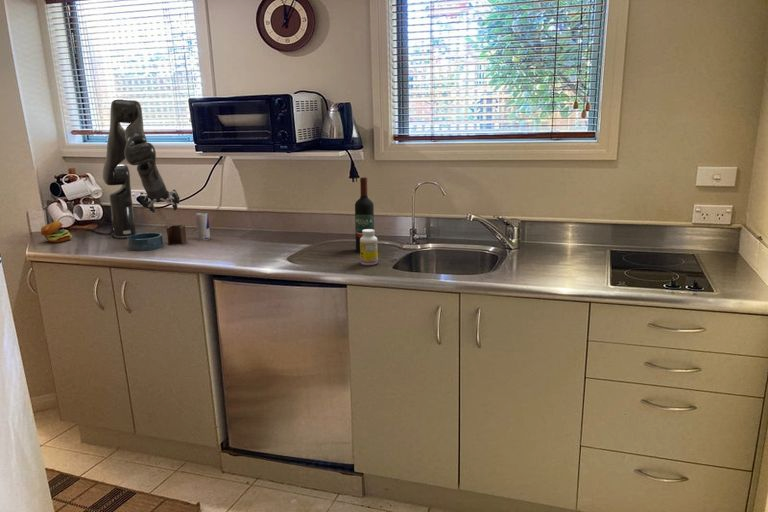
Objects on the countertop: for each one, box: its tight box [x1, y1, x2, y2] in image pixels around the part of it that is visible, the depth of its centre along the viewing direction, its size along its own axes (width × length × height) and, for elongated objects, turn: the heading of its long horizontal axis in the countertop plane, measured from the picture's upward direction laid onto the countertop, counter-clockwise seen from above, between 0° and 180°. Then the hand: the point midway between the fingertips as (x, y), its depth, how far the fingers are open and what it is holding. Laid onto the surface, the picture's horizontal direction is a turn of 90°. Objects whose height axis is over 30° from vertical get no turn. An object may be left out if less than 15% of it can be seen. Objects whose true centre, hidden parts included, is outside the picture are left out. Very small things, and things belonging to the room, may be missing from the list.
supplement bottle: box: [359, 229, 379, 266], centre depth 214 cm, size 7×7×13 cm
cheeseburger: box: [40, 220, 72, 244], centre depth 257 cm, size 10×11×10 cm
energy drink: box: [195, 212, 211, 241], centre depth 256 cm, size 5×5×12 cm
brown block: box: [166, 224, 188, 246], centre depth 249 cm, size 6×6×8 cm
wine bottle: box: [354, 176, 375, 253], centre depth 232 cm, size 8×8×30 cm
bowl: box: [126, 232, 164, 252], centre depth 242 cm, size 14×14×6 cm
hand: (164, 209), depth 235 cm, fingers open, 8 cm apart
